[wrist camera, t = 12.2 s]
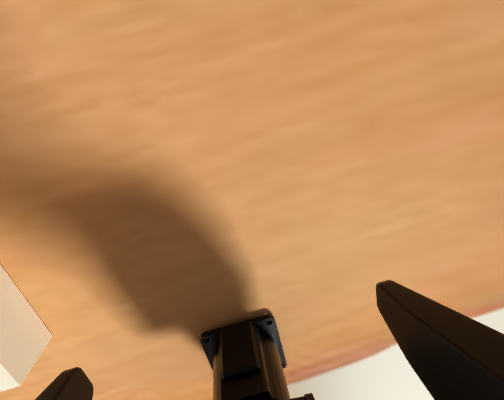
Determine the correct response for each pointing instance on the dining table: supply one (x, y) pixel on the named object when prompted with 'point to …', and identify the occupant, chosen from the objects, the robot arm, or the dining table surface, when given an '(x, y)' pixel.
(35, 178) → the dining table surface
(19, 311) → the keyhole board
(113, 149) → the dining table surface
